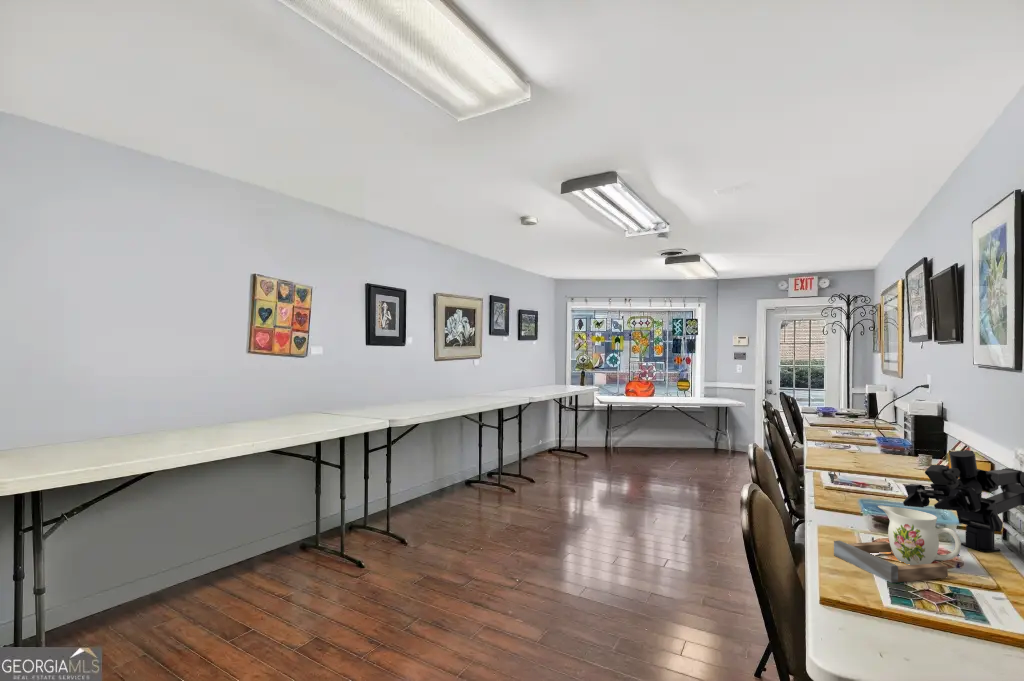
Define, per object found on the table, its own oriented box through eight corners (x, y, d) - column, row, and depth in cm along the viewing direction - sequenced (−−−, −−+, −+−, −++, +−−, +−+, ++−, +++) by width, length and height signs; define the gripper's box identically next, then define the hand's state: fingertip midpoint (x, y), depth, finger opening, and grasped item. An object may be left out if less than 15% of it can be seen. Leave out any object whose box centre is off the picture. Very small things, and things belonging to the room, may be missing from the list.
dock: (885, 551, 153) (885, 537, 153) (947, 577, 135) (947, 562, 135) (833, 555, 150) (833, 540, 150) (891, 582, 132) (891, 566, 132)
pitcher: (958, 580, 134) (958, 524, 134) (873, 559, 147) (873, 509, 147) (963, 568, 142) (962, 515, 142) (881, 549, 154) (881, 501, 155)
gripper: (918, 461, 164) (879, 475, 160) (983, 462, 146) (941, 478, 142) (932, 498, 162) (893, 513, 158) (998, 503, 145) (956, 520, 140)
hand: (919, 505), depth 150 cm, fingers open, 9 cm apart
